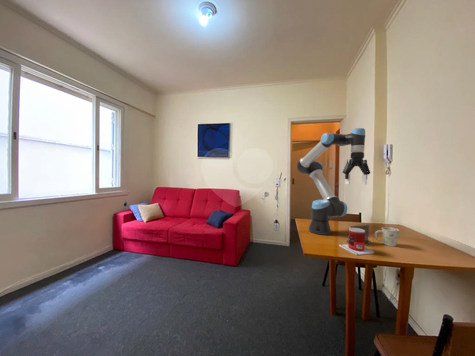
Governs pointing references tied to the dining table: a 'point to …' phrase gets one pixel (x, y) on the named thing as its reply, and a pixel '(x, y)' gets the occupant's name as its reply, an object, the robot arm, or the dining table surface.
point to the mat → (365, 251)
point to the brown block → (364, 227)
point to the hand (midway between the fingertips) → (355, 184)
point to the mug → (388, 235)
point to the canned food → (356, 239)
